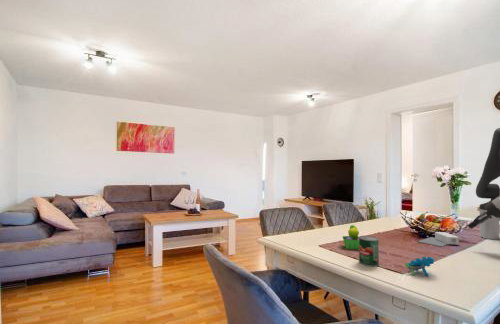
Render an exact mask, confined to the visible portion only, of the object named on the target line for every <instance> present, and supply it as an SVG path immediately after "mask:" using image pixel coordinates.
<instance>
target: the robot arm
mask: <svg viewBox="0 0 500 324" xmlns="http://www.w3.org/2000/svg"><path fill="white" fill-rule="evenodd" d="M498 178H500V127H498V128H495V130H494V132H493V135H492V140H491V144H490V150H489V153H488V156H487V158H486V161H485V164H484V167H483V170H482V174H481V176H480V178H479V180H478V183H477V184H476V185H477V186H476V187H475V195H476V197H478V198H480V199H490V200H489V201H487V202H483V203H481V204H479V207H478V210H479V215H477V216H476V217H475V218H474V219H473V221H472V222H470V223H468V224H467V227H468V228H469V229H471V230H472V229H474V228H475V227H477V226H478V225H479V238H482V237H483V239H487V240H500V185H499V184H498V183H491V182H493V181H494V180H496V179H498Z"/></svg>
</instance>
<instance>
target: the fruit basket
mask: <svg viewBox="0 0 500 324" xmlns="http://www.w3.org/2000/svg"><path fill="white" fill-rule="evenodd" d="M359 233H360V231H359V229H358V227H357V226H355V224H352V225H350V226H349V229H348V233H347V234H348V235H346V236H345V235H343V236H341V237H342V239H343V243H344V246H345V249H346V250H347V249H348V250H357V251H359V237H360V236H359V235H360V234H359Z"/></svg>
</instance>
